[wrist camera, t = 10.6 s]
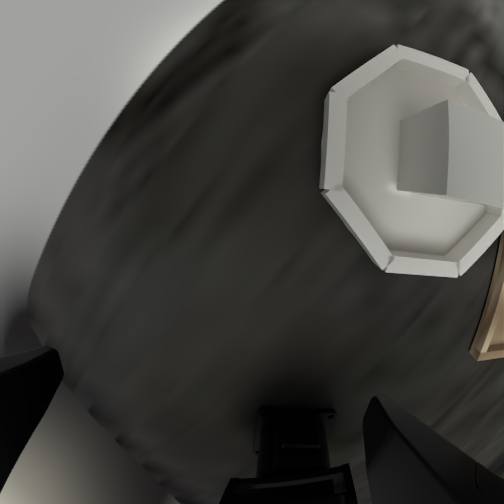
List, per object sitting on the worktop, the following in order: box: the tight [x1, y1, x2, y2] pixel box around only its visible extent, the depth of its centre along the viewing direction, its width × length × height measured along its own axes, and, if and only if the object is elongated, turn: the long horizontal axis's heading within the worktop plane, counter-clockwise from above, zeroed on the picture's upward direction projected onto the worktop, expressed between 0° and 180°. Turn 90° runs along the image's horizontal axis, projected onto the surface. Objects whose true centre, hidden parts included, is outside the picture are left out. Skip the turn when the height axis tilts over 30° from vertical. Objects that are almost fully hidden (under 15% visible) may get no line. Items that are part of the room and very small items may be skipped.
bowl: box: [319, 44, 504, 278], centre depth 15 cm, size 14×14×2 cm
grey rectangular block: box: [397, 99, 504, 209], centre depth 13 cm, size 4×4×6 cm
